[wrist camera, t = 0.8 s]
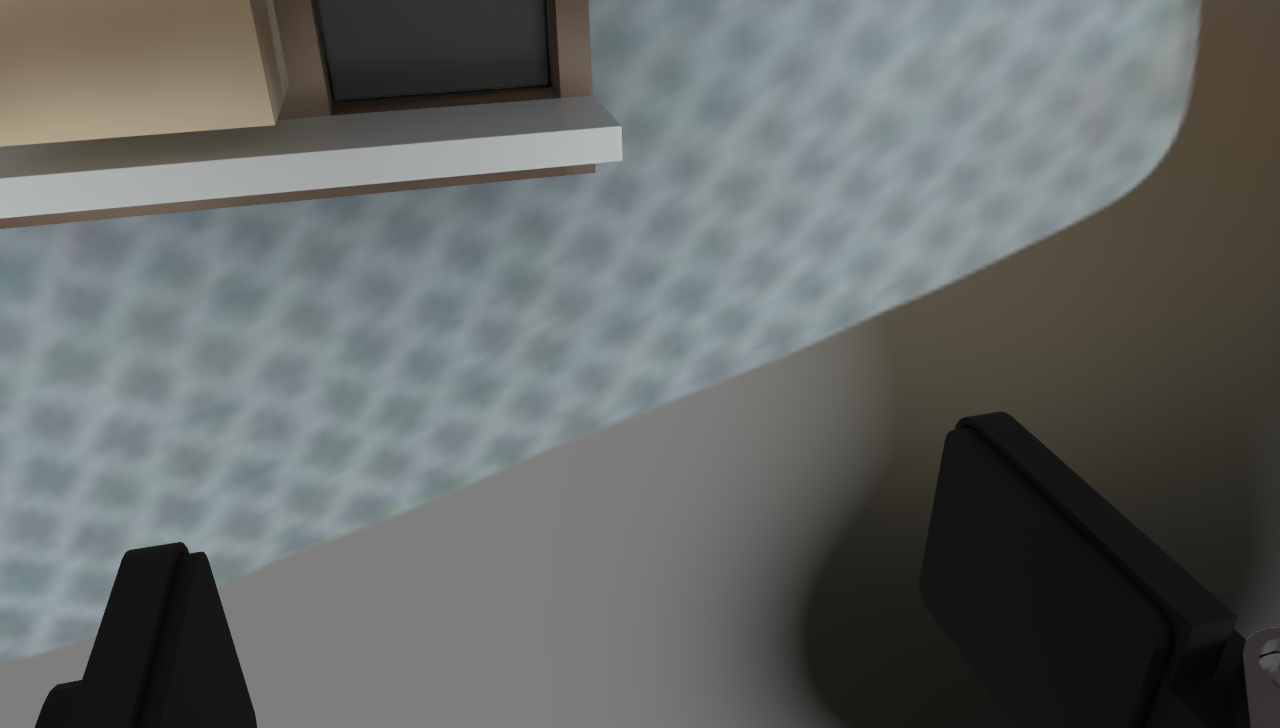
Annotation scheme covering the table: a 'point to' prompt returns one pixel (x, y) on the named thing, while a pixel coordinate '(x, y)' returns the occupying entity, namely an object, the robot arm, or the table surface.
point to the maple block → (136, 68)
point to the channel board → (354, 117)
